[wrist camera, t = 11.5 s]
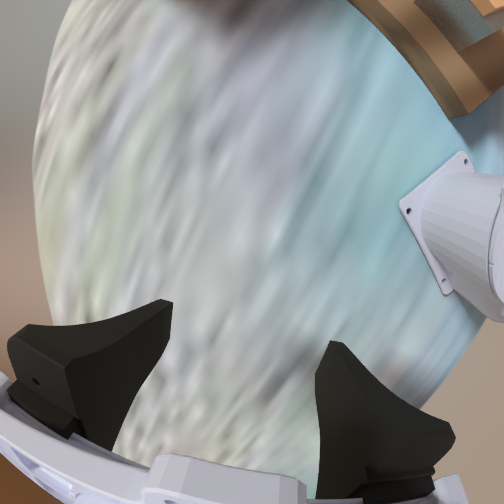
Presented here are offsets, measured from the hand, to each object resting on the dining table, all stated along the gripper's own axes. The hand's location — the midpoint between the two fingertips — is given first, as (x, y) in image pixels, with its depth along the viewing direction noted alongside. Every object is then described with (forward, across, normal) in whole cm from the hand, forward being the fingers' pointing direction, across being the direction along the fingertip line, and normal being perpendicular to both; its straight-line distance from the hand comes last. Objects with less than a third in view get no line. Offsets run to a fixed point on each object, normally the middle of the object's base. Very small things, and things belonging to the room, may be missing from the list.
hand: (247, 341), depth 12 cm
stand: (+9, -11, -25) cm, 29 cm away
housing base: (+6, -11, -25) cm, 28 cm away
